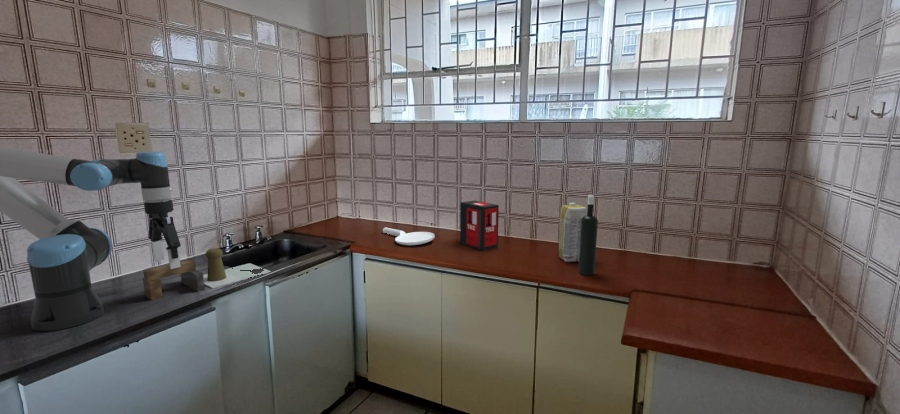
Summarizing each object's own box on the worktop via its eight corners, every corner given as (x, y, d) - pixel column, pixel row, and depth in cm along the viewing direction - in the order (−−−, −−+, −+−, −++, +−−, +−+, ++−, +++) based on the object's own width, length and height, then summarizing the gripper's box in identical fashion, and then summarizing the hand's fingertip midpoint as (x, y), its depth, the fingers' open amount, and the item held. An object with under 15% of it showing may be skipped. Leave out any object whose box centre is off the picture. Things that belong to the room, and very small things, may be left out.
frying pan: (370, 240, 211) (369, 231, 210) (400, 231, 223) (399, 223, 222) (412, 250, 185) (411, 241, 184) (443, 240, 198) (442, 231, 197)
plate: (212, 288, 139) (212, 287, 139) (192, 278, 148) (192, 277, 148) (270, 272, 155) (270, 271, 155) (249, 264, 165) (249, 263, 165)
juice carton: (577, 256, 176) (580, 201, 171) (585, 261, 168) (589, 204, 164) (556, 257, 174) (559, 201, 170) (564, 263, 166) (567, 205, 162)
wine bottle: (579, 270, 158) (583, 193, 153) (594, 271, 156) (599, 194, 150) (577, 274, 153) (582, 195, 147) (593, 276, 151) (599, 196, 145)
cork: (217, 282, 144) (214, 252, 142) (203, 280, 145) (199, 251, 143) (230, 276, 150) (227, 247, 148) (216, 275, 151) (212, 246, 149)
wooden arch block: (156, 303, 127) (152, 275, 125) (140, 292, 135) (137, 266, 134) (204, 290, 138) (201, 264, 136) (187, 281, 146) (184, 257, 145)
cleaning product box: (460, 243, 196) (460, 202, 193) (474, 240, 202) (474, 200, 198) (483, 250, 184) (484, 207, 180) (497, 247, 189) (498, 205, 186)
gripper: (187, 202, 126) (195, 268, 130) (157, 195, 141) (166, 254, 144) (158, 206, 120) (168, 274, 124) (131, 198, 135) (140, 260, 139)
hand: (167, 264), depth 134 cm, fingers open, 13 cm apart
